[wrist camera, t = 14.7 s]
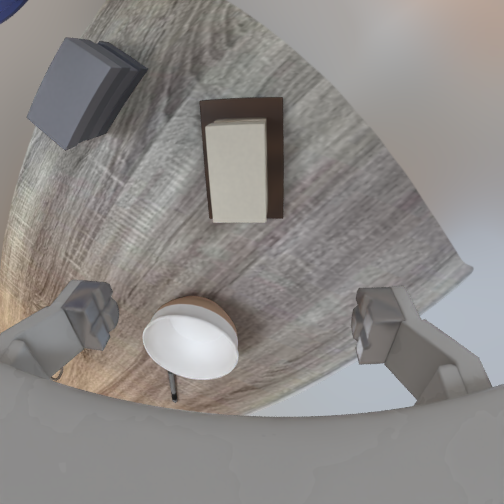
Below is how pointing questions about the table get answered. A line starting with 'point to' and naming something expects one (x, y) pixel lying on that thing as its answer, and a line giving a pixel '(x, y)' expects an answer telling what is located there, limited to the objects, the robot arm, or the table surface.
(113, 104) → the grey books
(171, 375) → the pen
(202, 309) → the bowl
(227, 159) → the white book
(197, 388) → the table surface
